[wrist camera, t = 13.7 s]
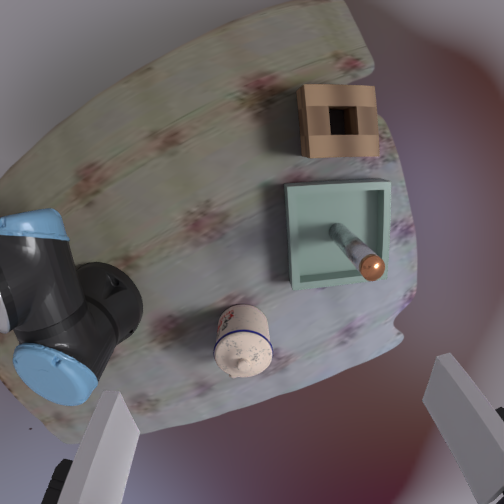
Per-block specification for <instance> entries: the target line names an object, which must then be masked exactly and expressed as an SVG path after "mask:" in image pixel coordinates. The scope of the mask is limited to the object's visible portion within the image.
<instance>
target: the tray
mask: <svg viewBox="0 0 504 504" xmlns="http://www.w3.org/2000/svg"><path fill="white" fill-rule="evenodd" d="M284 193H285V208H286V224H287V242H288V260H289V281H290V284H291V287H292V290H302V289H311V288H320V287H329V286H337V285H345V284H353V283H361V282H369V281H368V280H366V279H365V278H364V277H363V276H362V275H361V274H360V272H359V271H358V270H357V269H356V268H355V266H354V265H353V264H352V263H351V262H350V260H349V259H348V258H347V257H346V256H345V254H344V253H343V252H342V251H341V250H340V249H339V247H338V246H337V245H336V244H335V243H334V242H333V240H332V239H331V238H330V236H329V229H330V227H331V226H332V225H333V224H335V223H342V224H343V225H345V226H346V227H347V228H348V229H349V230H350V231H351V232H353V233H354V234H355V235H356V236H357V237H358V238H359V239H360V240H362V241H363V242H364V243H365V244H366V245H367V246H368V247H369V248H370V249H371V250H373V251H374V252H375V253H376V254H377V255H378V256H379V257H380V258H381V259H382V260H383V261H384V263H385V271H384V273H383V275H382V276H381V277H380V278H379V279H377V280H384V279H387V273H388V260H389V244H390V221H391V181H388V180H384V179H355V180H334V181H316V182H300V183H286V184H284ZM377 280H375V281H377Z"/></svg>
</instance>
